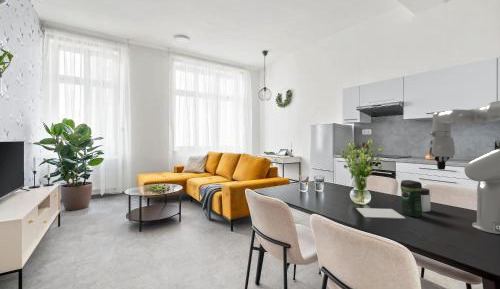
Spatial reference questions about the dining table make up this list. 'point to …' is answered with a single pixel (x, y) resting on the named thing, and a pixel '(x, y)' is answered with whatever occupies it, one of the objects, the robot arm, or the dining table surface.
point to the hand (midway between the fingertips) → (441, 169)
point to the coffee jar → (411, 198)
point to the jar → (425, 200)
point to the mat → (379, 213)
